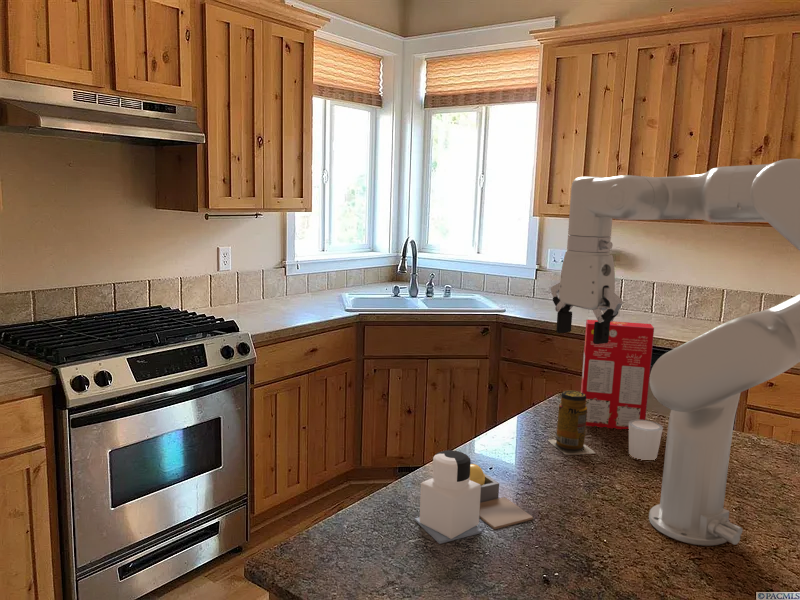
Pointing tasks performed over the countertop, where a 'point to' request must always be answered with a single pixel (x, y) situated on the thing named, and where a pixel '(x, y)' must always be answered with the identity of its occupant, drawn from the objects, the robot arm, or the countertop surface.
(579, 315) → the countertop surface
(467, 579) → the countertop surface
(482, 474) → the dome
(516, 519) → the step square
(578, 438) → the condiment
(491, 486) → the dome housing
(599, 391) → the food packaging
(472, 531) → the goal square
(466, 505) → the medicine bottle
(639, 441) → the white tapered cylinder
